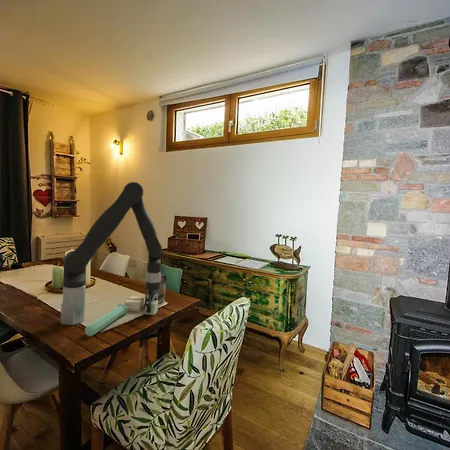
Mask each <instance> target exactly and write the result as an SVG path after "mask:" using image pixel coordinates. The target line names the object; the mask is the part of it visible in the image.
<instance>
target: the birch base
mask: <svg viewBox="0 0 450 450" xmlns="http://www.w3.org/2000/svg"><path fill="white" fill-rule="evenodd" d="M124 304H125V306H126V307H127V311H128V310H133V311H132V312H140V311H141V310H142V309H143V307H145V296H129V297H128V298H126V300H125V301H124Z"/></svg>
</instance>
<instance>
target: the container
mask: <svg viewBox="0 0 450 450" xmlns="http://www.w3.org/2000/svg"><path fill="white" fill-rule="evenodd" d="M127 313H128V310H127V307H126V306H125V303H120V304H118V305H117V306H116V307H115V308H113V309H112V310H110V311H109V312H106V314H104V315H102V316H101V317H100V318H99V317H98V319H96V320H95V321H93V322H92V323H89V325H87V326H86V327H85V329H84V333H85V335H86V336H87V337H93V336H95V335H96V334H97V333H98V332H100V331H101V330H103V329H104V328H106V327H107V326H109V325H110V324H112V323H113V322H114V321H116V320H117V319H119V318H120V317H121V316H124V315H125V314H127ZM123 314H124V315H123ZM118 317H119V318H118Z"/></svg>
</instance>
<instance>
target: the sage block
mask: <svg viewBox="0 0 450 450" xmlns="http://www.w3.org/2000/svg"><path fill="white" fill-rule="evenodd" d="M148 304H149V302H148ZM144 307H145V308H144V309H145V310H144V315H149V316H150V315H152V316H155V315H156V314H157V313H158V309H159V303H158V301H157V300H154V301H153V302H152V304H151V313H147V312H146V309H147V306H144Z"/></svg>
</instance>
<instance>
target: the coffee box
mask: <svg viewBox="0 0 450 450" xmlns="http://www.w3.org/2000/svg"><path fill="white" fill-rule="evenodd" d="M166 285H167V275H166V274H163V273H161V284H160V289H159V297H158V300H157V301H158V304H161V302H162V303H165V302H166V301H165V300H166ZM148 292H149V291H148V290H147V289H146V294H148Z"/></svg>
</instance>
